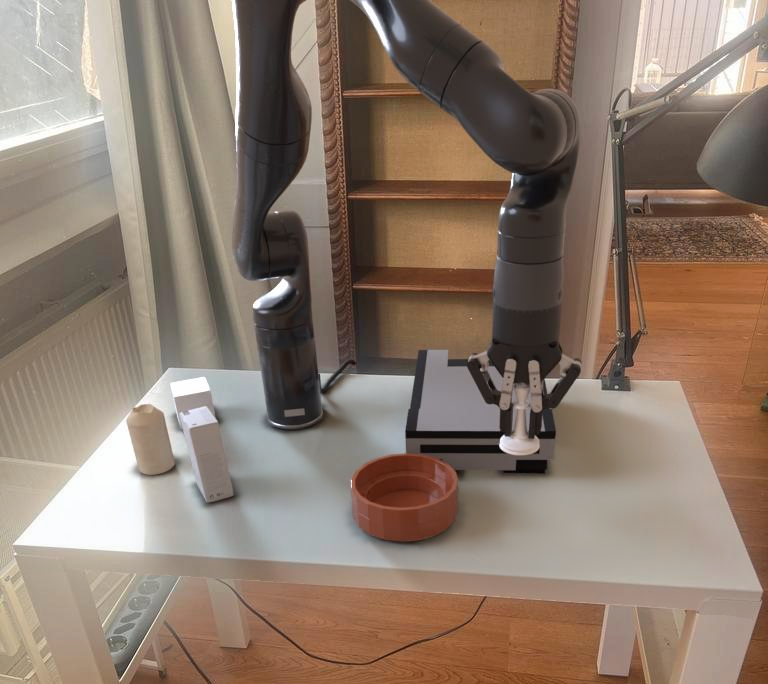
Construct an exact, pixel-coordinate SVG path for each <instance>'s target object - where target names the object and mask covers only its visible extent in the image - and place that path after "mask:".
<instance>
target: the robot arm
mask: <svg viewBox="0 0 768 684" xmlns="http://www.w3.org/2000/svg"><path fill="white" fill-rule="evenodd" d="M231 1H232V2H231V3H232V12H233V22H234V30H235V31H234V34H235V35H234V36H235V61H236V62H235V64H236V65H235V67H236V104H235V149H236V150H235V153H236V155H235V156H236V184H235V185H236V186H235V187H236V189H235V198H234V206H233V207H234V208H233V217H232V226H231V250H232V258H233V262H234V265H235V268H236V270H237V272H238V273H239V275H240V276H241V277H242V278H243V279H245V280H247V281H251V282H257V281H258V282H259V281H267V280H273V279H279V278H282V279H281V280H280V282H278V284H277V285H276V286H275V287H274V288H272V290H270V291H269V292H267V293H266V294H264V295H262V296H261V297H259V298H257V300H256V301H255V302H253V305H252V308H251V309H252V311H251V313H252V320H253V326H254V333H255V340H256V345H257V347H256V348H257V353H258V360H259V366H260V373H261V379H262V380H261V381H262V386H263V394H264V401H265V407H266V408H265V409H266V419H267V422H268V424H269V425H270V426H271V427H273V428H277V429H279V430H287V431H288V430H291V431H292V430H300V429H305V428H308V427H311V426H314V425H316V424H318V423H319V422H320V421H321V420H322V419H323V417H324V412H323V411H324V410H323V407H322V396H321V394H323V393H326V392H327V391H328V389H329V388H330V386H331V384H332V383H333V382H334V381H335V380H336V378H337V377H338V376H339V375H340V374H341V373H343V371H344V370H345V369H346V367H348V366H349V365H352V366H353V365H354V366H356V365H357V362H356V361H355V360H354V359H350V358H349V359H346V360H345V361H344V362H343V363H342V364H341V365H340V367H339V368H338V369H336V371H335V372H333V373H332V374H331V376H330V377H329V378H328V379H327V380H326V382H325V384H324V385H323V386H322V380H321V379H322V378H321V373H319V366H318V358H317V349H316V339H315V329H314V321H313V311H312V310H313V309H312V287H311V276H310V275H311V273H310V253H309V252H310V251H309V241H308V234H307V233H308V232H307V229H306V226H305V222H304V220H303V219H302V216H301V215H300V214H299V213H298V212H297V211H295V210H290V209H288V210H280V211H279V210H278V211H272V212H270V209H271V208H272V207H273V206H274V204H275V203H276V202H277V201H278V199H280V198H281V196H282V195H283V194H284V193H285V192H286V191H287V189H288V188H289V187H290V185H292V183H293V182H294V181H295V179H296V178H297V176H298V175H299V173H300V172H301V171H302V168H303V166H304V164H305V162H306V161H307V157H308V155H309V150H310V149H309V147H310V140H311V130H312V122H313V121H312V120H313V118H312V116H313V113H312V112H313V110H312V108H313V107H312V102H311V98H310V95H309V92H308V90H307V88H306V86H305V84H304V82H303V80H302V78H301V76H300V74H298V72H297V70H296V68H295V66H294V64H293V61H292V40H293V30H294V23H295V20H296V19H295V18H296V15H297V12H298V10H299V7H300V6H301V5H302V4H303V3H304V2H306V1H307V0H231ZM349 1H350V2H352V3H353V4H354V5H355V6H356V7H358V8H359V9H360V10H361V12H363V13H364V14H365V16H366V17H367V18H368V20H369V21H370V23H371V24H372V26H373V27H374V30H375V32H376V34H377V35H378V38H379V40H380V42H381V44H382V46H383V48H384V51H385V52H386V55H387V56H388V58H389V60H390V62H391V63H392V65H393V66H394V68H395V69H396V71H397V72H398V73H399V74H400V76H401V77H402V78H403V79H404V80H405V81H406V82H407V84H409V85H410V86H412V87H413V89H415V90H416V91H418V92H419V93H420V94H421V95H423V96H424V97H425V98H426V99H428V100H429V101H431V102H432V103H433V104H434V105H436V106H437V107H438V108H439V109H441V110H442V111H444V112H445V113H446V114H448V115H449V116H451V117H453V118H454V119H455V120H456V121H457V122H458V123H459V125H460V126H461V128H462V129H463V130H464V131H465V133H466V134H467V135H468V136H469V138H471V140H472V141H473V142H474V143H475V144H476V145H477V147H479V148H480V150H481V151H482V152H483V153H484V154H485V155H486V156H487V157H488V158H489V159H490V160H491V161H492V162H494V163H495V164H496V165H498V166H499V167H501V168H502V169H503V170H505V171H507V172H508V173H511V180H510V181H511V182H510V186H509V187H510V188H509V192H508V193H507V196H506V197H505V199H504V200H503V202H502V204H501V206H500V208H499V213H498V218H497V219H498V220H497V221H498V222H497V242H496V250H497V251H496V263H495V267H494V275H493V287H492V297H493V298H492V301H493V302H492V326H491V327H492V328H491V329H492V330H491V332H492V333H491V341H490V343H489V345H488V348H487V349H486V350H484V351H482V352H480V353H478V352H473V353H471V354H470V356H469V358H468V359H469V360H468V363H467V368H468V370H469V372H470V374H471V376H472V377H473V379H474V381H475V383H476V385H477V387H478V389H479V391H480V393H481V395H482V397H483V399H484V400H485V402H486V403H487V404H495V405H497V406H498V407H499V408H500V425H499V428H500V431H501V432H505V437H510V436H511V432H512V423H513V403H512V394H513V388H514V384H516V383H525V384H529V385H530V395H531V404H532V406H531V410H530V420H529V436H528V438H530V439H534V438H535V434H536V435H539V433H540V432H541V427H542V415H543V410H545V409H547V408H550V409H552V410H555V409H557V407H558V406H559V405H560V403H561V402H562V401H563V399H564V397H565V396H566V395H567V393H568V392H569V390H570V389H571V388H572V386H573V385H574V383H575V381H577V379H578V378H579V376H580V374H581V373H582V372H581V371H582V364H583V363H582V360H581V359H580V358H578V357H575V358H573V359H572V358H571V357H569V356H567V355H565V354H564V353H563V348H562V346H561V344H560V330H561V318H562V307H563V297H564V282H565V268H564V267H565V265H564V253H565V242H566V241H565V240H566V239H565V238H566V228H567V227H566V226H567V216H566V215H567V207H568V203H569V200H570V195H571V191H572V187H573V182H574V178H575V173H576V170H577V163H578V159H579V153H580V147H581V137H582V136H581V135H582V126H581V125H582V123H581V117H580V113H579V109H578V107H577V105H576V104H575V101H574V100H573V98H572V97H570V95H568V94H567V93H566V92H564V91H562V90H560V89H556V88H542V89H539V90H536V91H533V92H531V91H529V90H528V89H527V88H525V87H523V86H522V85H521V84H519V82H517V81H516V80H515V79H514V78H513V77H512V76H510V74H508V73H507V72H506V71H505V66H504V61H503V59H502V57H501V56H500V55H499V54H498V52H497V51H495V50H494V49H493V48H492V47H491V46H490V45H489V44H488V43H486V42H485V41H483V40H482V39H481V38H480V37H478V36H477V35H475V34H474V33H473V32H471V31H470V30H469V29H468V28H466V27H465V26H463V25H462V24H461V23H460V22H458V21H457V20H456V19H454V18H453V17H451V16H450V15H449V14H448V13H447V12H445V11H444V10H442V9H441V8H440V7H439V6H438V5H437V4H435V3H434V2H432V0H349ZM489 360H490V361H491V362H492V364H493V365H494V366H495V368H496V369H497V371H498V372H499V373H500V375H501V376H502V378H503V384H502V390H501V391H499V390H497V389H496V387H495V385H494V383H493V381H492V379H491V377H490V375H489V373H488V371H487V369H488V367H489V363H488V361H489ZM558 365H559V372H558V374H559V378H558V380H557V382H556V383H555V385H554V386H553V387H552V389H551V390H550V392H549V393H548V392H547V394H545V395H544V391H543V379H544V378H545V379H546V377H547V376H548V375H549V374H550V373H551V372H552V371H553V370H554V369H555V368H556V366H558Z"/></svg>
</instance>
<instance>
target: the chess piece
mask: <svg viewBox="0 0 768 684" xmlns="http://www.w3.org/2000/svg"><path fill="white" fill-rule="evenodd" d="M514 390H515V392H516V397H517V399H518V400H516V401H514V402H513V407H514V408H516V409H517V414H516V420H515V425H514V430H513V431H512V432H511V436H510V437H505V435H503V436H502V437H501V439H500V443H499V446H500V448H501V450H503V451H504V452H506V453H508V454H512V455H529V454H532V453H534V452H536V451H537V450H538V449H539V447H540V444H539V439H538V438H537V437H536V436H535V438H534V439H530V438H528V436H529V432H528V431H527V426H526V411H525V409H527V408H529V407H530V406H531V404H530V402H529V401H527V400H526V399H527V397H528V394H529V392H530V385H529V384H525V383H517V384H515V385H514Z"/></svg>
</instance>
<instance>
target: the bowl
mask: <svg viewBox="0 0 768 684" xmlns="http://www.w3.org/2000/svg"><path fill="white" fill-rule="evenodd" d="M350 491H351V503H352V514H353V520H354V522H355V523H356V524H357V526H358V528H359V529H361V530H362V531H363V532H365V533H367V534H368V535H370V536H373V537H375V538H379V539H381V540H385V541H393V542H414V541H415V542H416V541H420V540H421V541H422V540H424V539H428V538H432V537H435V536H437V535H439V534H441V533H442V532H445V531H446V530H448V529H449V528H450V527H451V525H453V524H454V522H456V519H457V517H458V513H459V477H458V473H457V470H454V469H453V468H452V467H451V466H450V465H449V464H447V463H446V462H444V461H442V460H440V459H438V458H435V457H431V456H427V455H423V454H412V453H406V452H405V453H392V454H389V455H384V456H383V455H382V456H379V457H376V458H374V459H372V460H369V461H367V462H365V463H363V464H362V465H361V466H360V467H359V468H357V469H356V470H355V471H354V473H353V475H352V477H351V479H350Z"/></svg>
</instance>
